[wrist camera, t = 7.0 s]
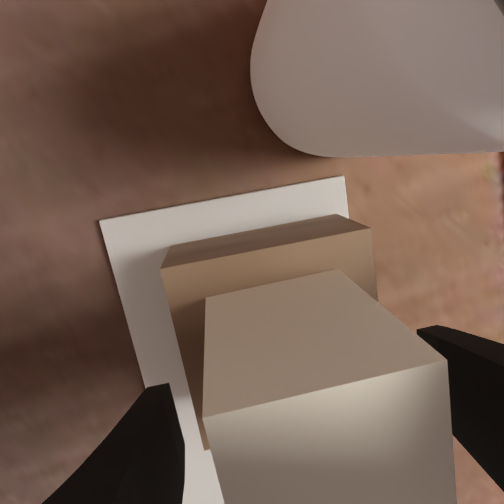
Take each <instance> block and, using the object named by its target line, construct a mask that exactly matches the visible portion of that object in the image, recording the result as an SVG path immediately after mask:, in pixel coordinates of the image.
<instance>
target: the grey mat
mask: <svg viewBox="0 0 504 504" xmlns="http://www.w3.org/2000/svg"><path fill="white" fill-rule="evenodd" d="M333 214H338V215H341V216H343V217H346V218H348V219H349V215H348V206H347V197H346V188H345V178H344V176H342V175H340V176H335V177H330V178H324V179H319V180H313V181H308V182H302V183H297V184H292V185H286V186H281V187H275V188H270V189H264V190H259V191H254V192H248V193H243V194H237V195H232V196H226V197H221V198H216V199H210V200H205V201H199V202H194V203H188V204H183V205H178V206H172V207H167V208H161V209H156V210H150V211H145V212H140V213H134V214H129V215H123V216H118V217H112V218H107V219H102V220H100V221H99V222H100V226H101V230H102V233H103V237H104V240H105V244H106V248H107V251H108V255H109V259H110V262H111V266H112V269H113V273H114V277H115V280H116V284H117V287H118V291H119V295H120V298H121V302H122V305H123V309H124V313H125V316H126V320H127V323H128V327H129V331H130V334H131V338H132V342H133V345H134V349H135V352H136V356H137V360H138V363H139V367H140V370H141V374H142V378H143V381H144V385H145V388H147V387H151V386H155V385H160V384H165V383H169V384H170V388H171V392H172V396H173V399H174V403H175V407H176V411H177V415H178V419H179V423H180V427H181V430H182V434H183V438H184V442H185V483H184V492H183V500H182V504H225V503H224V499H223V496H222V492H221V488H220V484H219V480H218V476H217V473H216V469H215V465H214V461H213V457H212V454H211V450H210V449H209V450H205V451H204V448H203V444H202V440H201V436H200V432H199V428H198V424H197V420H196V416H195V411H194V407H193V403H192V399H191V395H190V391H189V387H188V383H187V379H186V375H185V370H184V366H183V362H182V358H181V354H180V350H179V346H178V342H177V338H176V334H175V330H174V325H173V321H172V317H171V313H170V309H169V305H168V301H167V297H166V293H165V289H164V284H163V280H162V276H161V272H160V268H161V265H162V263H163V261H164V259H165V257H166V255H167V252H168V250H169V248H170V246H171V245H176V244H181V243H186V242H191V241H197V240H202V239H207V238H212V237H218V236H223V235H228V234H233V233H239V232H244V231H249V230H254V229H260V228H265V227H270V226H275V225H280V224H286V223H291V222H296V221H301V220H307V219H312V218H317V217H322V216H328V215H333Z"/></svg>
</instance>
